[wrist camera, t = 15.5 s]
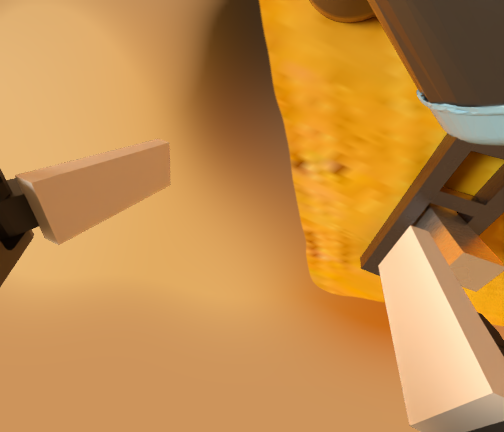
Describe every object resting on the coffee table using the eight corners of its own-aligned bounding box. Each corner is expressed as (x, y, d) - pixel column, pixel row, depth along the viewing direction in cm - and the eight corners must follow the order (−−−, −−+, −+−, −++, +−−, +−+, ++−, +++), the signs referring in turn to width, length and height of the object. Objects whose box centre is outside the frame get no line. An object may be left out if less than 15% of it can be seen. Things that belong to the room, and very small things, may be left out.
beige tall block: (425, 200, 32) (463, 252, 22) (453, 209, 32) (507, 267, 21) (409, 221, 35) (437, 277, 24) (435, 229, 34) (476, 291, 23)
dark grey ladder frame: (453, 123, 27) (464, 126, 25) (546, 146, 25) (567, 152, 23) (360, 258, 41) (361, 268, 39) (414, 279, 39) (419, 291, 37)
